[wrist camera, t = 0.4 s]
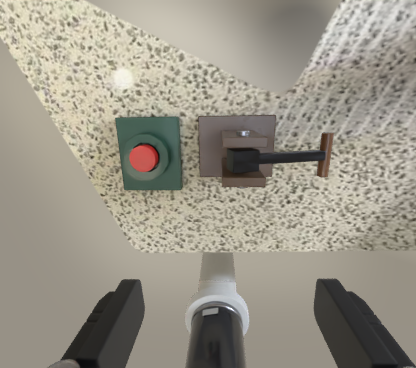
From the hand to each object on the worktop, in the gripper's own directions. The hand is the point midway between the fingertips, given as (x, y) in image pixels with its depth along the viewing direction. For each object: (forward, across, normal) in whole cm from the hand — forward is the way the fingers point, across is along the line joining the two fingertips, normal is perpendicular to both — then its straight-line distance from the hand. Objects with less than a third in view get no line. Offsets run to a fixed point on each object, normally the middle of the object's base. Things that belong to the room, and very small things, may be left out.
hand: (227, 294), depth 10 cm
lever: (+18, +6, +3) cm, 19 cm away
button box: (+26, -11, +3) cm, 29 cm away
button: (+23, -11, +3) cm, 26 cm away
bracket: (+26, +2, +3) cm, 27 cm away
